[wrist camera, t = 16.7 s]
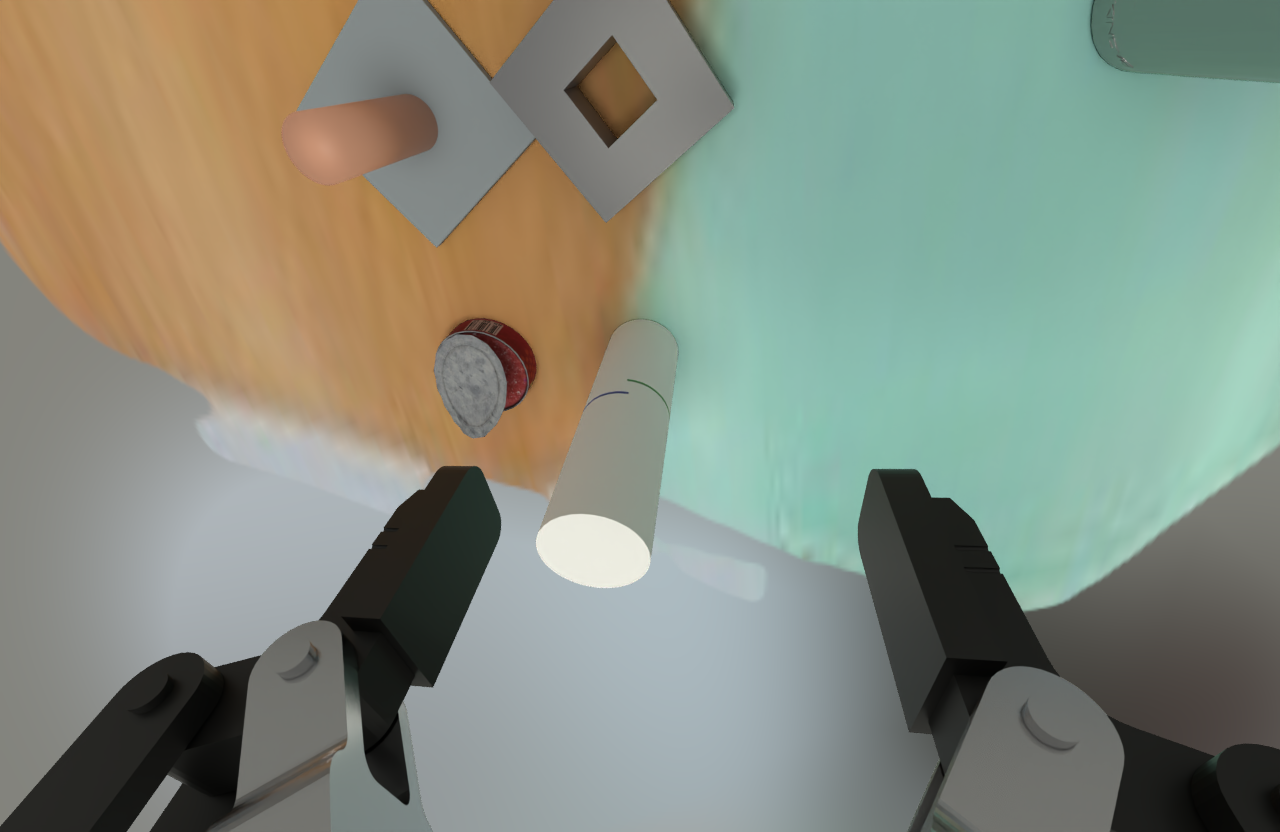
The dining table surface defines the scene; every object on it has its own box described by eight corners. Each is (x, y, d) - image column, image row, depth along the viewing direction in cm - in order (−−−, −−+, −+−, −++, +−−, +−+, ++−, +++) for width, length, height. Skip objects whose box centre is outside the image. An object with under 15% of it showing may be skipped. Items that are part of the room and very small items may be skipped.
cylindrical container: (602, 321, 48) (522, 513, 29) (674, 316, 47) (642, 514, 27) (614, 382, 53) (551, 586, 33) (681, 379, 51) (656, 590, 32)
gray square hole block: (626, -68, 31) (615, -80, 28) (733, 102, 36) (734, 107, 33) (508, 79, 37) (489, 82, 34) (614, 209, 42) (606, 222, 39)
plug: (405, 80, 37) (298, 94, 28) (447, 127, 39) (360, 154, 29) (379, 120, 39) (271, 144, 30) (420, 162, 41) (329, 199, 31)
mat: (390, -44, 34) (384, -46, 33) (538, 135, 39) (535, 136, 38) (303, 109, 40) (296, 110, 40) (440, 244, 46) (436, 247, 45)
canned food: (494, 371, 60) (428, 421, 54) (466, 297, 53) (387, 345, 47) (563, 400, 54) (498, 459, 49) (542, 322, 48) (464, 380, 42)
